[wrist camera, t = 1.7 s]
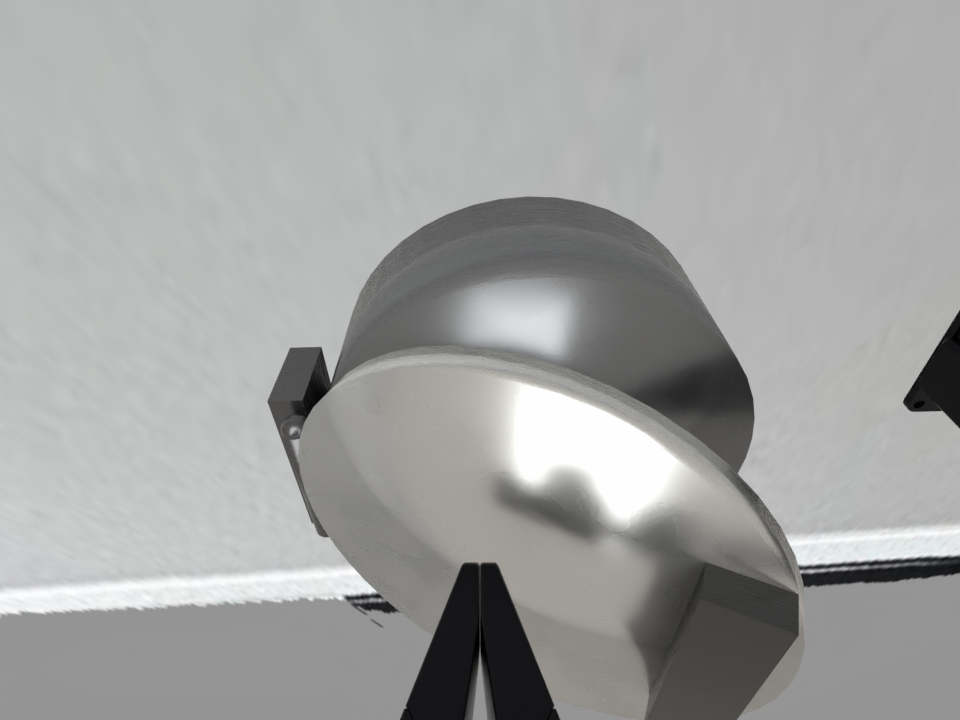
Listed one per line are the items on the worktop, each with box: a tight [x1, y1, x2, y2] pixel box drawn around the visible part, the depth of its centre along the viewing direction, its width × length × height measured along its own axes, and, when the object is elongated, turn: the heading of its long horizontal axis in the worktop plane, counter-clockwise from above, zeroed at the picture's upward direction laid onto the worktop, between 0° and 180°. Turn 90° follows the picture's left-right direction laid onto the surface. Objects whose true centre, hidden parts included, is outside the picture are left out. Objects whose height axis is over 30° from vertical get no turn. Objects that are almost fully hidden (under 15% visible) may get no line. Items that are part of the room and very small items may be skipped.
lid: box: [281, 345, 805, 720], centre depth 17 cm, size 16×16×2 cm
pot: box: [267, 196, 755, 523], centre depth 23 cm, size 17×16×6 cm
